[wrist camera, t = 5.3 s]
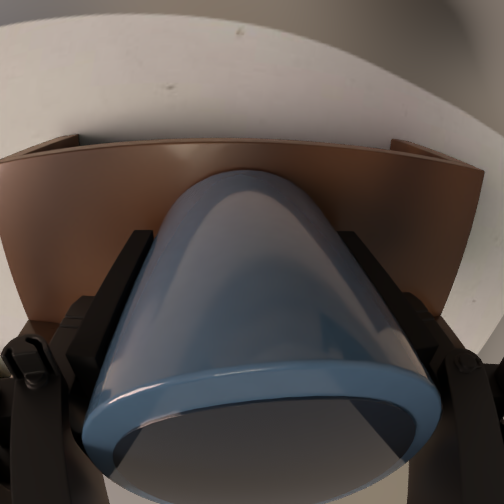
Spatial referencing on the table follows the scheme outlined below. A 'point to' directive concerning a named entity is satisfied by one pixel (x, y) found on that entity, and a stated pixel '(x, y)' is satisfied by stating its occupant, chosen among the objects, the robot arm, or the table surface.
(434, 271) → the shelf
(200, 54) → the table surface
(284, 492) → the cup
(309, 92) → the table surface
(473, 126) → the table surface
